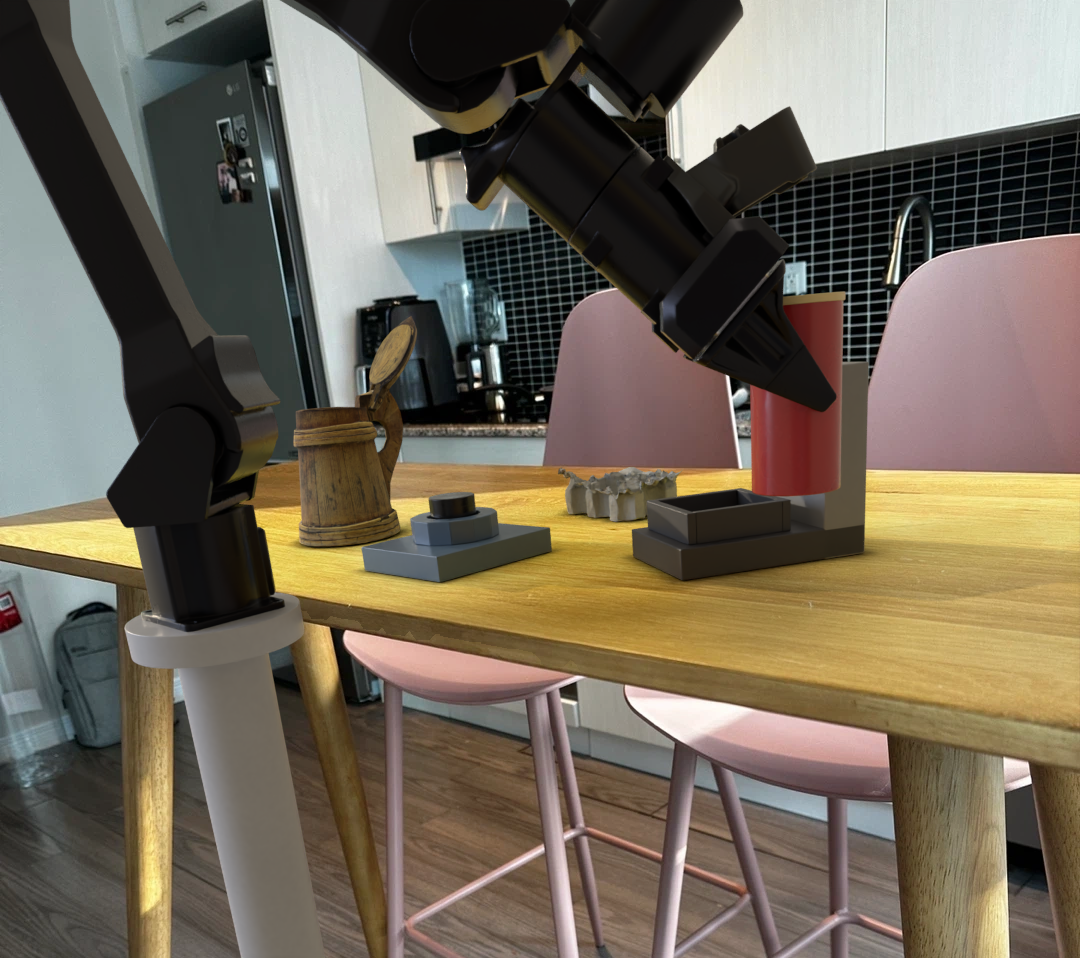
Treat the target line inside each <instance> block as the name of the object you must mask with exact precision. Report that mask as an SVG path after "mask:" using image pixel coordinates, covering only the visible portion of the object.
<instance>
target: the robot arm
mask: <svg viewBox="0 0 1080 958" xmlns="http://www.w3.org/2000/svg"><path fill="white" fill-rule="evenodd" d="M279 1H280V2H282V3H284V4H285V5H286V6H289V7H290V8H292V9H293V10H295V11H296V12H299V13H300V14H302V15H304V16H305V17H307V18H308V19H310V20H312V21H313V22H315V23H317V24H319V25H320V26H322V27H324V28H325V29H327V30H329V31H331V32H332V33H334V34H335V35H336V36H338V37H339V38H340V39H341V40H342V41H343V42H344V43H345V44H346V45H348V46H349V47H350V48H351V49H353V50H354V51H355V52H356V53H357V54H358V55H359V56H360V57H361V58H362V59H364V60H365V62H367V63H368V65H370V66H371V67H372V68H373V69H375V71H377V72H378V73H379V74H380V75H381V76H382V77H384V78H385V79H386V80H387V81H388V83H390V84H391V85H392V86H393V87H395V88H396V89H397V90H398V91H399V92H400V93H401V94H403V95H404V96H405V97H406V98H407V99H408V100H409V101H411V102H412V103H413V104H414V105H415V106H416V107H417V108H419V109H420V110H421V111H422V112H423V113H424V114H425V115H427V116H428V117H429V118H430V119H431V120H432V121H434V122H435V123H436V124H437V125H439V126H441V128H444V129H446V130H449V131H452V132H454V133H457V134H462V135H463V134H465V135H470V134H473V133H476V132H479V131H482V130H485V129H487V128H490V127H492V126H493V125H494V124H496V122H498V121H499V120H500V119H502V118H503V117H504V118H503V119H502V121H500V123H499V124H498V126H497V128H496V129H495V130H494V132H493V133H492V134H491V136H490V137H489V139H488V140H487V141H486V143H484V144H482V145H476V146H463V147H461V148H460V150H459V156H460V159H461V162H462V164H463V167H464V173H465V198H466V200H467V202H468V203H469V204H470V205H472V206H473V207H474V208H475V209H476V210H477V211H481V212H482V211H483V212H484V211H485V210H487V209H488V208H489V206H490V205H491V204H492V203H493V201H494V200H495V198H496V197H497V195H498V194H499V193H500V191H501V190H502V188H503V187H504V186H506V187H507V188H508V189H509V190H510V191H511V192H512V193H513V194H514V195H515V196H516V197H517V198H519V200H521V201H522V202H523V203H524V204H525V205H526V206H528V208H530V210H532V212H534V213H535V214H536V215H537V216H538V217H539V218H540V219H541V220H543V222H544V223H546V224H547V225H548V226H549V227H550V228H551V229H552V230H553V231H554V232H555V233H556V234H558V235H559V236H560V237H561V238H562V239H563V240H564V241H565V242H566V243H568V245H569V246H571V248H573V249H574V251H576V253H578V254H579V255H580V256H581V257H582V258H583V260H584V261H585V262H586V263H587V264H588V265H589V266H590V267H591V268H592V269H594V271H596V272H597V273H599V274H600V275H602V277H604V278H605V279H606V280H607V281H608V282H609V283H610V284H611V285H613V286H614V288H616V290H618V291H619V292H620V293H621V294H622V295H623V296H624V297H625V298H627V300H628V301H630V303H632V304H633V306H635V307H636V308H637V309H638V310H639V311H640V314H642V315H643V316H644V317H645V318H647V320H649V321H650V322H651V333H652V334H654V335H655V336H656V337H657V338H658V339H659V340H660V341H661V342H662V343H663V344H664V345H665V346H666V347H668V349H669V350H670V351H672V353H675V354H677V353H678V352H679V350H680V351H681V352H682V353H683V354H684V355H683V356H682V358H684V360H687V361H689V362H692V363H695V364H696V365H697V364H698V365H699V366H703V367H705V368H707V369H710V370H713V371H715V372H717V373H720V374H722V375H725V376H728V377H729V378H733V379H735V380H737V381H740V382H742V383H745V384H747V385H753V386H755V387H758V388H760V389H763V390H766V391H768V392H771V393H773V394H776V395H778V396H781V397H783V398H786V399H788V400H791V401H794V402H796V403H799V404H801V405H804V406H806V407H809V408H811V409H814V410H816V411H819V412H825V411H826V410H827V409H828V408H829V407H830V406H831V405H832V404H833V402H834V401H835V400H836V398H837V395H836V393H835V391H834V390H833V388H832V387H831V385H830V383H829V382H828V380H827V379H826V377H825V376H824V374H823V373H822V371H821V369H820V368H819V366H818V365H817V363H816V362H815V360H814V358H813V357H812V355H811V354H810V352H809V351H808V349H807V347H806V346H805V344H804V343H803V341H802V340H801V338H800V337H799V335H798V333H797V332H796V330H795V329H794V327H793V325H792V324H791V322H790V320H789V319H788V317H787V315H786V314H785V312H784V309H783V297H784V291H785V290H784V289H785V287H784V286H785V275H786V273H787V272H786V270H787V268H786V261H785V259H784V258H782V259H781V257H782V256H783V255H784V254H785V253H786V251H787V250H788V249H789V247H790V244H789V243H788V242H787V241H786V240H784V238H782V237H781V236H780V235H779V234H778V233H777V232H776V231H775V230H774V229H773V228H772V227H771V226H770V225H769V224H768V222H766V221H765V220H764V219H763V218H762V217H761V216H758V215H757V216H747V217H739V218H736V217H738V216H740V215H741V214H743V213H745V212H746V211H748V210H749V209H752V208H753V207H755V206H756V205H757V204H759V203H761V202H762V201H764V200H766V199H767V198H769V197H771V196H772V195H774V194H777V195H782V194H783V193H785V192H786V191H788V190H790V189H791V188H793V187H794V186H796V185H798V184H799V183H801V182H802V181H804V180H805V179H807V178H808V177H809V174H810V173H814V172H815V171H816V170H817V169H818V167H817V164H816V162H815V160H814V157H813V155H812V152H811V150H810V148H809V146H808V144H807V141H806V139H805V137H804V135H803V132H802V130H801V127H800V125H799V123H798V120H797V119H796V116H795V113H794V111H793V109H792V107H791V106H790V105H789V106H787V107H785V108H782V109H781V110H779V111H778V112H776V113H774V114H772V115H771V116H769V117H768V118H766V119H765V120H764V121H762V122H760V123H758V124H757V125H755V126H753V127H752V128H751V129H750V128H748V127H747V126H745V125H744V124H742V123H739V124H738V125H736V127H735V128H734V129H733V130H732V131H730V132H729V133H727V134H726V135H724V136H723V137H721V136H719V137H717V138H716V139H715V141H714V142H713V147H712V148H713V151H712V153H711V154H710V155H708V156H707V157H705V158H704V159H702V160H701V161H700V162H698V163H697V164H695V165H693V166H691V167H690V168H689V169H686V170H684V169H683V168H682V166H680V165H679V164H678V163H677V162H676V161H675V160H674V159H673V158H672V157H671V156H669V155H666V156H665V157H664V158H662V157H661V156H660V155H659V154H657V156H656V157H655V158H654V157H652V155H650V154H649V153H648V152H647V151H646V150H645V149H644V148H643V147H641V146H640V144H639V143H638V142H637V141H635V139H633V138H632V137H631V135H629V134H628V133H627V132H626V131H625V130H624V129H623V128H622V127H621V126H620V125H619V124H618V123H617V122H616V121H615V120H614V119H613V118H612V117H611V116H609V114H608V113H607V112H606V111H604V110H603V109H602V107H601V106H599V104H597V103H596V102H595V101H594V100H593V98H591V97H590V96H589V95H588V94H587V93H586V92H585V91H584V90H583V89H582V88H581V87H579V85H578V84H579V83H580V81H581V80H582V79H583V78H584V79H585V80H587V82H588V83H590V85H592V87H593V88H594V89H595V90H596V92H598V93H599V94H600V95H601V96H602V97H603V98H604V99H605V100H606V101H607V102H608V103H609V104H610V106H612V107H613V108H614V109H615V110H617V111H618V112H619V113H620V114H621V115H622V116H624V117H625V118H626V119H628V120H629V121H631V122H634V123H636V121H637V120H638V119H639V118H641V119H644V118H645V117H646V115H647V114H648V112H649V111H650V112H651V113H653V114H654V115H655V116H658V117H660V118H666V117H667V115H668V114H669V113H670V112H671V111H672V110H673V108H674V106H675V105H676V104H677V102H678V101H679V100H680V98H681V97H682V96H683V95H684V93H685V92H686V91H687V89H688V88H689V87H690V85H691V84H692V83H693V82H694V81H695V79H697V77H698V75H699V74H700V72H701V71H702V70H703V69H704V68H705V66H706V65H707V63H708V62H709V61H710V60H711V58H712V57H713V56H714V54H715V53H716V52H717V51H718V49H719V48H720V47H721V46H722V44H723V43H724V42H725V40H726V39H727V38H728V36H729V35H730V34H731V32H732V31H734V29H735V27H736V26H737V24H738V23H739V22H740V21H741V19H742V18H743V16H744V6H743V4H742V2H741V0H574V1H573V2H572V3H571V4H570V2H569V0H279ZM72 31H73V30H72V17H71V4H70V0H0V103H1V105H2V107H3V109H4V111H5V113H6V115H7V117H8V119H9V121H10V123H11V125H12V127H13V129H14V132H15V133H16V135H17V137H18V139H19V141H20V143H21V145H22V148H23V149H24V151H25V153H26V155H27V157H28V159H29V161H30V164H31V165H32V167H33V169H34V172H35V173H36V175H37V177H38V179H39V181H40V184H41V186H42V187H43V189H44V192H45V193H46V196H47V197H48V200H49V202H50V203H51V205H52V208H53V209H54V212H55V214H56V215H57V217H58V220H59V222H60V224H61V226H62V228H63V230H64V232H65V234H66V236H67V238H68V241H69V242H70V243H71V246H72V248H73V250H74V252H75V255H76V256H77V258H78V260H79V262H80V264H81V266H82V268H83V270H84V272H85V274H86V277H87V278H88V280H89V283H90V284H91V286H92V288H93V291H94V292H95V294H96V297H97V298H98V300H99V303H100V304H101V307H102V308H103V311H104V312H105V315H106V317H107V319H108V320H109V323H110V324H111V327H112V328H113V330H114V331H113V332H114V333H115V335H116V338H117V341H118V346H119V357H120V358H119V359H120V369H121V385H122V396H123V400H124V403H125V406H126V410H127V412H128V415H129V418H130V421H131V422H130V423H131V425H132V427H133V431H134V434H135V437H136V440H137V442H138V444H137V446H135V449H134V450H133V451H132V453H131V454H130V456H129V458H127V460H126V462H125V463H124V465H123V466H122V467H121V470H120V471H119V472H118V474H117V475H116V476H115V478H114V479H113V481H112V483H111V484H110V485H109V487H108V488H107V490H106V491H105V492H106V493H105V496H106V498H107V501H108V503H109V504H110V506H111V507H112V509H113V511H114V512H115V514H116V516H117V518H118V519H119V521H120V523H121V524H122V526H123V527H124V528H126V529H132V530H133V533H134V538H135V541H136V546H137V550H138V555H139V559H140V564H141V568H142V573H143V574H142V575H143V577H144V581H145V587H146V591H147V595H148V599H149V604H150V609H147V610H146V609H145V610H142V611H141V612H140V615H141V616H142V619H143V620H145V621H149V622H152V623H156V624H159V625H163V626H166V627H170V628H173V629H177V630H180V631H183V632H194V631H198V630H202V629H205V628H209V627H213V626H217V625H220V624H224V623H228V622H232V621H235V620H239V619H243V618H247V617H250V616H254V615H258V614H262V613H265V612H269V611H273V610H277V609H280V608H284V607H285V602H284V599H281V598H276V597H271V595H274V594H275V592H276V591H277V590H276V589H277V588H276V583H275V578H274V573H273V567H272V561H271V556H270V551H269V546H268V545H269V544H268V539H267V534H266V530H265V529H264V528H263V527H261V526H258V522H257V518H256V512H255V511H256V510H255V505H254V504H247V503H246V504H245V502H247V501H251V500H253V499H255V497H256V490H257V486H258V485H257V484H258V480H259V479H258V478H259V472H260V471H261V469H263V468H264V467H265V466H266V464H267V463H268V462H269V461H270V459H271V458H272V457H273V453H274V450H275V447H276V444H277V441H278V439H279V425H278V421H277V418H276V414H275V412H274V410H273V407H272V406H276V405H280V404H281V399H280V397H279V396H278V395H277V394H276V393H275V392H274V391H273V390H272V389H270V386H269V385H268V382H266V380H265V378H264V376H263V374H262V370H261V368H260V365H259V361H258V357H257V354H256V350H255V348H254V345H253V343H252V341H251V339H250V336H248V335H245V334H242V335H241V334H240V335H239V334H237V335H232V334H231V335H230V334H229V335H228V334H227V335H219V334H218V333H217V332H216V331H215V329H213V328H212V326H211V325H210V324H209V323H208V322H207V321H206V320H205V318H204V317H203V316H202V314H201V313H200V312H199V310H198V309H197V306H196V305H195V302H194V300H193V298H192V296H191V293H190V292H189V289H188V287H187V285H186V283H185V280H184V279H183V276H182V274H181V272H180V269H179V268H178V266H177V264H176V262H175V260H174V257H173V255H172V252H171V251H170V249H169V247H168V245H167V243H166V241H165V238H164V236H163V234H162V232H161V229H160V228H159V226H158V223H157V221H156V219H155V217H154V214H153V212H152V210H151V208H150V206H149V204H148V202H147V199H146V198H145V195H144V193H143V191H142V189H141V187H140V185H139V182H138V180H137V178H136V176H135V174H134V172H133V170H132V167H131V165H130V164H129V161H128V159H127V157H126V155H125V153H124V150H123V148H122V146H121V144H120V142H119V140H118V138H117V135H116V133H115V131H114V129H113V128H112V125H111V123H110V121H109V118H108V116H107V114H106V112H105V110H104V108H103V105H102V103H101V101H100V99H99V97H98V95H97V93H96V90H95V88H94V86H93V84H92V82H91V80H90V78H89V76H88V73H87V72H86V69H85V67H84V65H83V63H82V61H81V59H80V57H79V54H78V52H77V50H76V46H75V43H74V40H73V39H74V38H73V33H72ZM544 90H545V91H544ZM540 91H544V92H543V93H542V94H541V96H539V98H538V99H537V100H536V101H535V102H534V104H531V103H529V102H528V101H527V100H525V99H524V97H526V96H529V95H532V94H535V93H537V92H540ZM514 100H516V101H515V102H514ZM513 102H514V104H513ZM512 104H513V105H512ZM511 105H512V106H511ZM510 107H511V108H510ZM509 108H510V109H509ZM508 110H509V111H508ZM507 111H508V112H507ZM505 114H506V115H505ZM243 502H244V503H243Z"/></svg>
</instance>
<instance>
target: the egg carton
mask: <svg viewBox="0 0 1080 958" xmlns="http://www.w3.org/2000/svg"><path fill="white" fill-rule="evenodd" d="M681 473H682V470H680V471H678V472H675V471H673V470H671V471H670V472H668V471H665V470H661V469H659V468H657V469H656V470H655V471H651V470H649V471H648V470H647V471H643V470H641V469H638V468H637V467H635V466H629V467H625V468H623V469H622V470H619V471H611V472H609V473H608V472H605V473H604V475H603V476H602V477H599V478H598V477H596V476H595V475H594V474H592V475H590V476H589V479H588V480H586V479H582V478H581V477H579V476H577V474H576V473H574V472H573V471H567V470H566V469H565V468H563V467H559V468H558V470H557V475H560V476H561V475H562V476H563V478H565V479H569V478H570V479H569V483H568V485H567V486H566V488H565V491H564V498H565V505H566V511H567V513H568V514H569V515H580V514H587V517H588V518H595V519H597V518H607V517H609V521H611V522H626V521H636V520H640V519H645V518H646V516H647V500H655V499H662V498H670V497H677V496H678V488H677V487H678V486H677V478H678V476H679V475H680V474H681Z"/></svg>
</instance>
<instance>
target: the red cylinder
mask: <svg viewBox="0 0 1080 958" xmlns="http://www.w3.org/2000/svg"><path fill="white" fill-rule="evenodd" d="M845 300H846V291H831V292H820V293H809V294H799V295H787V296H783V309H784V312H785V314H786V315H787V317H788V319H789V320H790V322H791V324H792V325H793V327H794V329H795V330H796V332H797V333H798V335H799V337H800V338H801V340H802V341H803V343H804V344H805V346H806V347H807V349H808V351H809V352H810V354H811V355H812V357H813V358H814V360H815V362H816V363H817V365H818V366H819V368H820V369H821V371H822V373H823V374H824V376H825V377H826V379H827V380H828V382H829V383H830V385H831V387H832V388H833V390H834V391H835V393H836V395H837V398H836V400H835V401H834V402H833V404H832V405H831V406H830V407H829V408H828V409H827V410H826V411H825V412H819V411H816V410H814V409H811V408H809V407H806V406H804V405H801V404H799V403H796V402H794V401H791V400H788V399H786V398H783V397H781V396H778V395H776V394H773V393H771V392H768V391H766V390H763V389H760V388H758V387H755V386H753V385H750V384H749V385H750V386H749V387H750V388H749V389H750V393H749V396H750V398H749V399H750V455H751V456H750V461H751V462H750V463H751V465H750V467H751V491H752V492H753V493H755V494H758V495H764V496H804V495H814V494H821V493H827V492H831V491H834V490H837V489H839V488H840V484H841V420H842V362H843V352H844V351H843V348H844V347H843V346H844V301H845Z"/></svg>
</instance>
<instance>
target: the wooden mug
mask: <svg viewBox="0 0 1080 958" xmlns="http://www.w3.org/2000/svg"><path fill="white" fill-rule="evenodd" d="M417 338H418V329H417V326H416V323H415V321H414V318H413V316H412V315H410V316H409V317H407V318H405V319H404V320H402V321H401V322H400V323H399V324H398V325H396V326H395V327H393V329H391V331H390V332H389V333H388V334H387V335H386V337H385V338H384V339H383V341H382V342H381V344H380V345H379V347H378V349H377V351H376V353H375V355H374V358H373V360H372V363H371V365H370V370H369V377H368V379H369V389H368V392H364V393H360V394H357V395H355V399H354V406H328V407H315V408H307V409H299V410H296V411H295V424H296V428H295V429H294V430H293V447H294V448H295V449H297V455H298V457H297V458H298V473H299V495H300V512H301V513H300V517H301V519H300V521H299V522H298V543H300V544H302V545H304V546H308V547H325V548H326V547H344V546H351V545H358V544H365V543H370V542H375V541H380V540H385V539H388V538H391V537H393V536H395V535H397V534H399V532H401V528H402V527H401V524H400V519H399V515H398V511H397V510H396V509H395V508H393V507H392V502H391V482H392V478H393V475H394V471H395V468H396V465H397V463H398V462H397V461H398V459H399V457H400V452H401V449H402V444H403V437H404V424H403V418H402V413H401V410H400V408H399V405H398V403H397V401H396V399H395V398H394V396H393V395H392V393H391V391H390V389H391V388H392V386H393V385H394V384H395V383H396V382H397V380H398V379H399V377H400V376H401V374H402V373H403V371H404V370H405V368H406V367H407V365H408V363H409V361H410V358H411V357H412V354H413V351H414V349H415V346H416V342H417ZM373 422H376V423H377V422H378V423H379V424H380V425H381V427H383V429H384V433H385V441H384V443H383V446H382V448H381V449H380V450H379V451H378V449H377V445H376V438H377V437H378V431H377V429H376V428H375V425H374V424H373Z"/></svg>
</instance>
